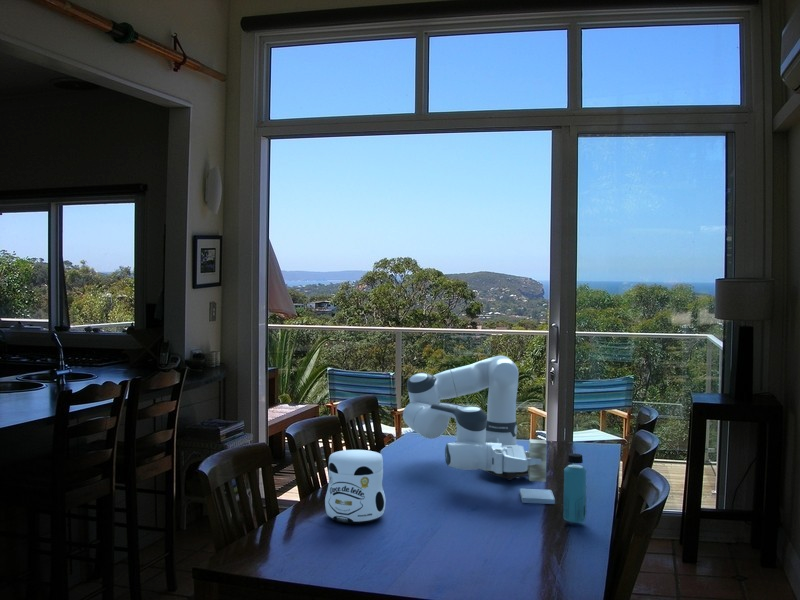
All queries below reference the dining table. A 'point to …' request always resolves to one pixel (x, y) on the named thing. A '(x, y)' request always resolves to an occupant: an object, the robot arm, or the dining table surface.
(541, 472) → the maple block
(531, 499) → the white square slab
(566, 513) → the beverage bottle
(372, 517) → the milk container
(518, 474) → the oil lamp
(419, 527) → the dining table surface
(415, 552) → the dining table surface
